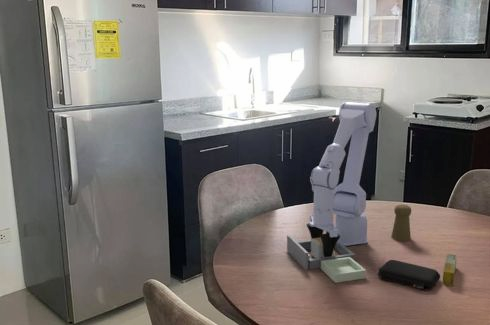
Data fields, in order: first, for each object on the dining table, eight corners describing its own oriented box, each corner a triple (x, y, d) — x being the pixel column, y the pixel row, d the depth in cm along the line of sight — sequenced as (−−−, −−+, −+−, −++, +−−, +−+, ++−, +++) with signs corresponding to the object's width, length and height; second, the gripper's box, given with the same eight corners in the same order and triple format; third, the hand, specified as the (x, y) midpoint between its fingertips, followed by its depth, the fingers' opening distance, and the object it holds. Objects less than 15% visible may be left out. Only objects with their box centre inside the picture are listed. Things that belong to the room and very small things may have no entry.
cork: (406, 242, 154) (409, 209, 151) (388, 238, 157) (390, 206, 155) (413, 237, 158) (415, 204, 156) (395, 233, 162) (397, 201, 159)
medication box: (445, 266, 137) (446, 253, 136) (456, 268, 136) (456, 254, 135) (442, 285, 126) (443, 271, 126) (453, 287, 125) (454, 272, 124)
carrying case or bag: (373, 280, 129) (430, 296, 121) (374, 270, 129) (431, 284, 120) (387, 266, 138) (441, 279, 130) (387, 256, 137) (442, 269, 129)
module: (326, 252, 147) (326, 235, 146) (333, 258, 143) (334, 241, 141) (310, 254, 146) (311, 237, 145) (317, 261, 141) (318, 243, 140)
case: (332, 244, 153) (333, 229, 151) (355, 262, 140) (355, 246, 138) (287, 250, 148) (287, 235, 147) (305, 269, 135) (305, 253, 134)
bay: (349, 264, 139) (349, 256, 138) (365, 278, 130) (366, 270, 130) (320, 268, 136) (320, 260, 136) (335, 282, 128) (335, 274, 127)
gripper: (300, 201, 146) (300, 244, 149) (321, 217, 133) (320, 263, 136) (322, 199, 148) (321, 241, 151) (344, 214, 135) (343, 260, 138)
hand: (322, 251), depth 144 cm, fingers open, 7 cm apart
